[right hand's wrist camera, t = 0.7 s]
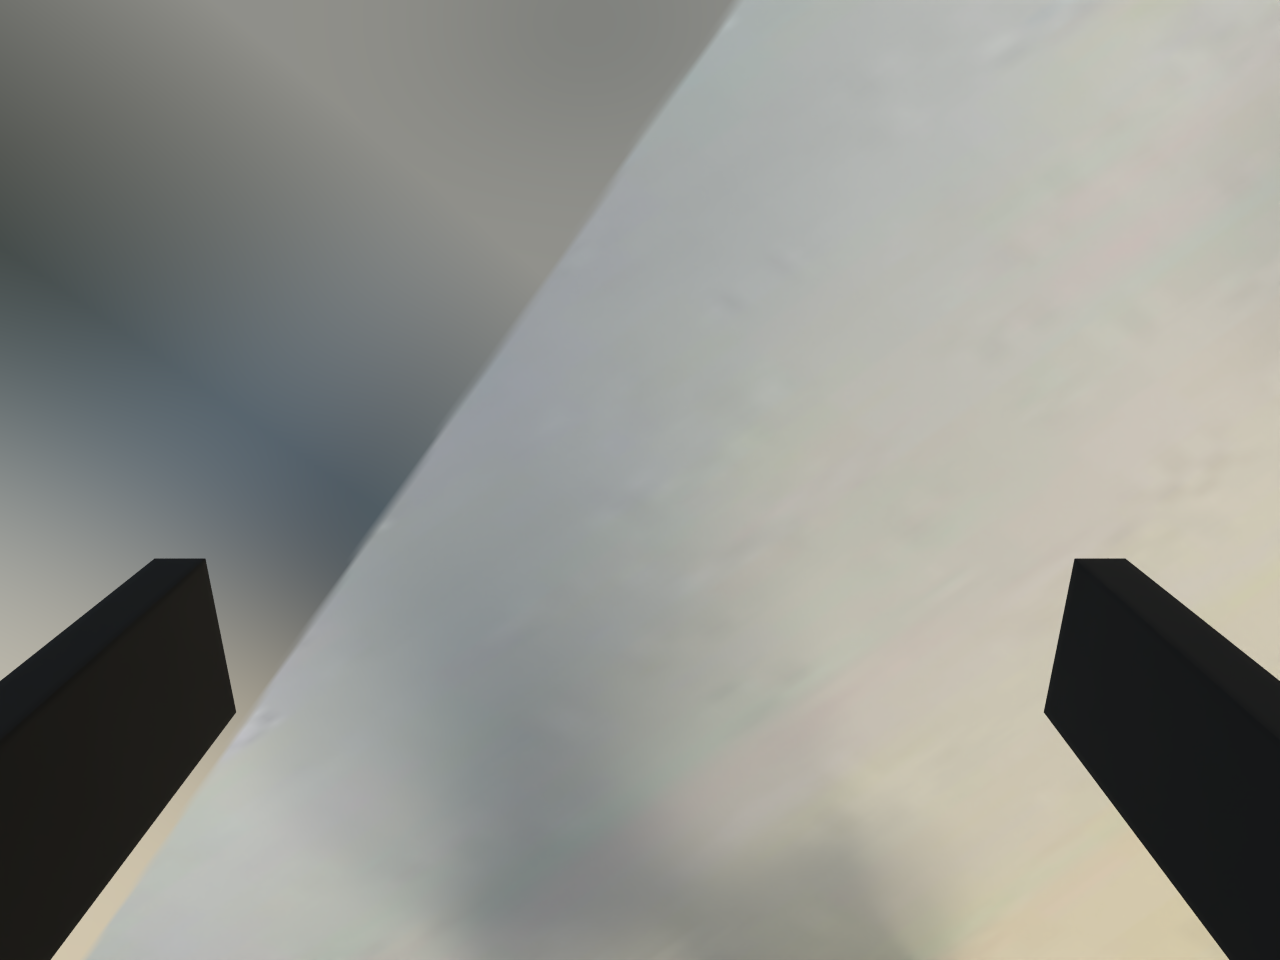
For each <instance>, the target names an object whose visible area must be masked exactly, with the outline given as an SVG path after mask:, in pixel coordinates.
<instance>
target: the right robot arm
mask: <svg viewBox="0 0 1280 960" xmlns="http://www.w3.org/2000/svg"><path fill="white" fill-rule="evenodd" d="M235 713H236V709H235V704H234V699H233V694H232V689H231V684H230V679H229V674H228V669H227V664H226V659H225V654H224V649H223V644H222V639H221V634H220V629H219V624H218V619H217V614H216V609H215V604H214V599H213V595H212V589H211V585H210V579H209V574H208V569H207V564H206V559H154V560H152V561H151V562H150V563H149V564H147V565H146V566H145V567H143V568H142V569H141V570H140V571H138V572H137V573H136V574H135V575H133V576H132V577H131V578H130V579H128V580H127V581H126V582H125V583H123V584H122V585H121V586H120V587H118V588H117V589H116V590H115V591H113V592H112V593H111V594H109V595H108V596H107V597H106V598H104V599H103V600H102V601H101V602H99V603H98V604H97V605H96V606H94V607H93V608H92V609H91V610H89V611H88V612H87V613H85V614H84V615H83V616H82V617H80V618H79V619H78V620H77V621H75V622H74V623H73V624H72V625H70V626H69V627H68V628H67V629H65V630H64V631H63V632H62V633H60V634H59V635H58V636H56V637H55V638H54V639H53V640H51V641H50V642H49V643H48V644H46V645H45V646H44V647H43V648H41V649H40V650H39V651H38V652H36V653H35V654H34V655H33V656H31V657H30V658H29V659H27V660H26V661H25V662H24V663H22V664H21V665H20V666H19V667H17V668H16V669H15V670H14V671H12V672H11V673H10V674H9V675H7V676H6V677H5V678H4V679H2V680H1V681H0V960H51V958H52V957H53V956H54V954H55V953H56V952H57V950H58V949H59V948H60V946H61V945H62V944H63V942H64V941H65V940H66V938H67V937H68V936H69V934H70V933H71V932H72V930H73V929H74V928H75V926H76V925H77V924H78V922H79V921H80V920H81V918H82V917H83V916H84V914H85V913H86V912H87V910H88V909H89V908H90V906H91V905H92V904H93V902H94V901H95V900H96V898H97V897H98V896H99V894H100V893H101V892H102V890H103V889H104V888H105V886H106V885H107V884H108V882H109V881H110V880H111V878H112V877H113V876H114V874H115V873H116V872H117V870H118V869H119V868H120V866H121V865H122V864H123V862H124V861H125V860H126V858H127V857H128V856H129V854H130V853H131V852H132V850H133V849H134V848H135V846H136V845H137V844H138V842H139V841H140V840H141V838H142V837H143V836H144V834H145V833H146V832H147V830H148V829H149V828H150V826H151V825H152V824H153V822H154V821H155V820H156V818H157V817H158V816H159V814H160V813H161V812H162V810H163V809H164V808H165V806H166V805H167V804H168V802H169V801H170V800H171V798H172V797H173V796H174V794H175V793H176V792H177V790H178V789H179V788H180V786H181V785H182V784H183V782H184V781H185V780H186V778H187V777H188V776H189V774H190V773H191V772H192V770H193V769H194V768H195V766H196V765H197V764H198V762H199V761H200V760H201V758H202V757H203V756H204V754H205V753H206V752H207V750H208V749H209V748H210V746H211V745H212V744H213V742H214V741H215V740H216V738H217V737H218V736H219V734H220V733H221V732H222V730H223V729H224V728H225V726H226V725H227V724H228V722H229V721H230V720H231V718H232V717H233V716H234V714H235ZM1044 713H1045V714H1046V716H1047V717H1048V718H1049V720H1050V721H1051V722H1052V724H1053V725H1054V726H1055V728H1056V729H1057V730H1058V732H1059V733H1060V734H1061V736H1062V737H1063V738H1064V740H1065V741H1066V742H1067V744H1068V745H1069V746H1070V748H1071V749H1072V750H1073V752H1074V753H1075V754H1076V756H1077V757H1078V758H1079V760H1080V761H1081V762H1082V764H1083V765H1084V766H1085V768H1086V769H1087V770H1088V772H1089V773H1090V774H1091V776H1092V777H1093V778H1094V780H1095V781H1096V782H1097V784H1098V785H1099V786H1100V788H1101V789H1102V790H1103V792H1104V793H1105V794H1106V796H1107V797H1108V798H1109V800H1110V801H1111V802H1112V804H1113V805H1114V806H1115V808H1116V809H1117V810H1118V812H1119V813H1120V814H1121V816H1122V817H1123V818H1124V820H1125V821H1126V822H1127V824H1128V825H1129V826H1130V828H1131V829H1132V830H1133V832H1134V833H1135V834H1136V836H1137V837H1138V838H1139V840H1140V841H1141V842H1142V844H1143V845H1144V846H1145V848H1146V849H1147V850H1148V852H1149V853H1150V854H1151V856H1152V857H1153V858H1154V860H1155V861H1156V862H1157V864H1158V865H1159V866H1160V868H1161V869H1162V870H1163V872H1164V873H1165V874H1166V876H1167V877H1168V878H1169V880H1170V881H1171V882H1172V884H1173V885H1174V886H1175V888H1176V889H1177V890H1178V892H1179V893H1180V894H1181V896H1182V897H1183V898H1184V900H1185V901H1186V902H1187V904H1188V905H1189V906H1190V908H1191V909H1192V910H1193V912H1194V913H1195V914H1196V916H1197V917H1198V918H1199V920H1200V921H1201V922H1202V924H1203V925H1204V926H1205V928H1206V929H1207V930H1208V932H1209V933H1210V934H1211V936H1212V937H1213V938H1214V940H1215V941H1216V942H1217V944H1218V945H1219V946H1220V948H1221V949H1222V950H1223V952H1224V953H1225V954H1226V956H1227V957H1228V958H1229V960H1280V681H1279V680H1278V679H1276V678H1275V677H1274V676H1273V675H1271V674H1270V673H1269V672H1268V671H1266V670H1265V669H1264V668H1263V667H1261V666H1260V665H1259V664H1258V663H1256V662H1255V661H1254V660H1253V659H1251V658H1250V657H1249V656H1247V655H1246V654H1245V653H1244V652H1242V651H1241V650H1240V649H1239V648H1237V647H1236V646H1235V645H1234V644H1232V643H1231V642H1230V641H1229V640H1227V639H1226V638H1225V637H1224V636H1222V635H1221V634H1220V633H1218V632H1217V631H1216V630H1215V629H1213V628H1212V627H1211V626H1210V625H1208V624H1207V623H1206V622H1205V621H1203V620H1202V619H1201V618H1200V617H1198V616H1197V615H1196V614H1195V613H1193V612H1192V611H1191V610H1189V609H1188V608H1187V607H1186V606H1184V605H1183V604H1182V603H1181V602H1179V601H1178V600H1177V599H1176V598H1174V597H1173V596H1172V595H1171V594H1169V593H1168V592H1167V591H1166V590H1164V589H1163V588H1162V587H1160V586H1159V585H1158V584H1157V583H1155V582H1154V581H1153V580H1152V579H1150V578H1149V577H1148V576H1147V575H1145V574H1144V573H1143V572H1142V571H1140V570H1139V569H1138V568H1137V567H1135V566H1134V565H1133V564H1131V563H1130V562H1129V561H1128V560H1126V559H1074V564H1073V569H1072V574H1071V579H1070V584H1069V589H1068V594H1067V599H1066V604H1065V609H1064V614H1063V619H1062V624H1061V629H1060V634H1059V639H1058V644H1057V649H1056V654H1055V659H1054V664H1053V669H1052V674H1051V679H1050V684H1049V689H1048V694H1047V699H1046V704H1045V709H1044Z"/></svg>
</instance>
